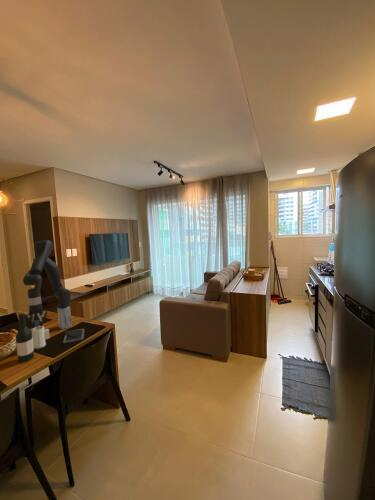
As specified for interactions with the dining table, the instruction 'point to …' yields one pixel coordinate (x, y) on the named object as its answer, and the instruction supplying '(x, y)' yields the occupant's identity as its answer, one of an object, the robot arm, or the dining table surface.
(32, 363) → the dining table surface
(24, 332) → the wine bottle
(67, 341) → the picture frame
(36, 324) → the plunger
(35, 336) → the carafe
